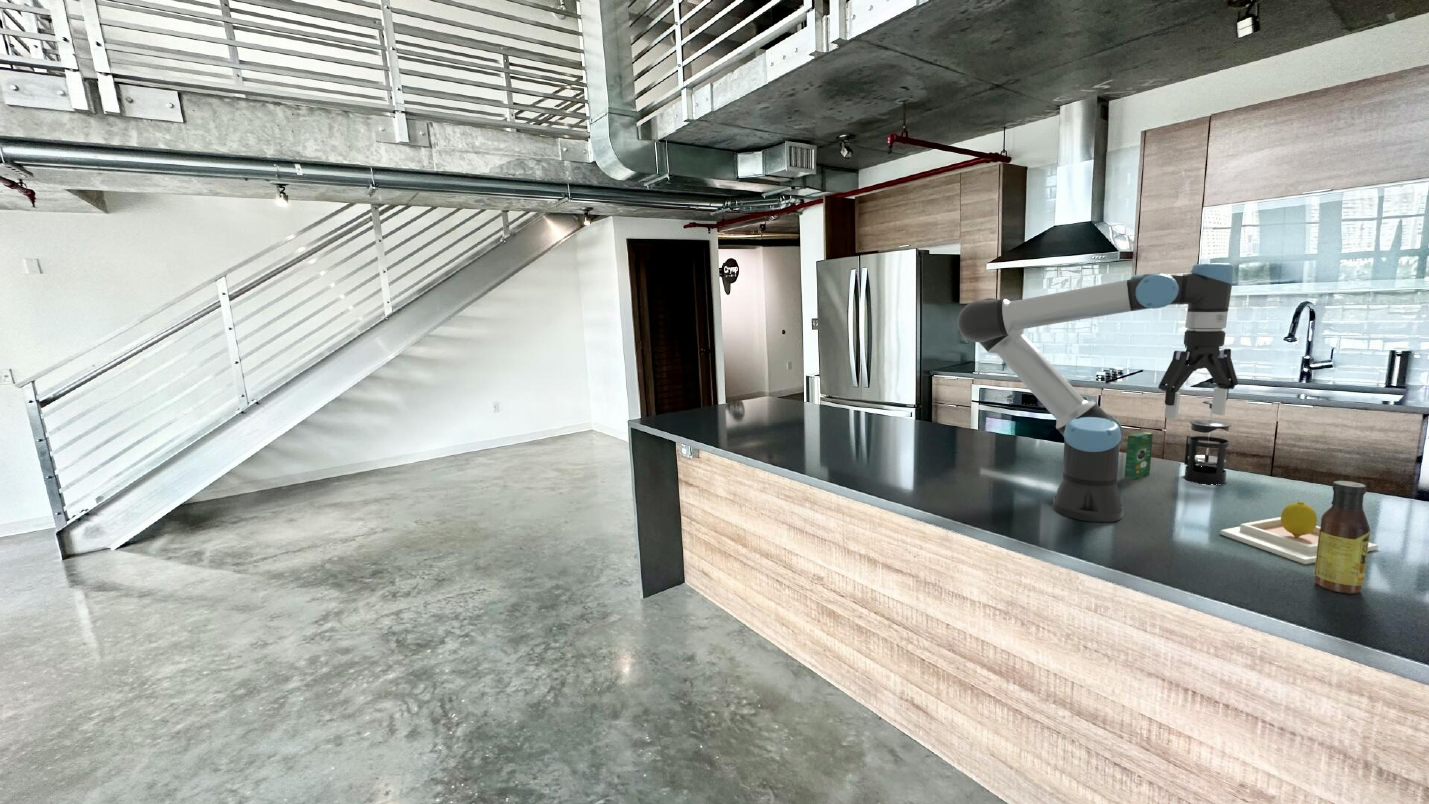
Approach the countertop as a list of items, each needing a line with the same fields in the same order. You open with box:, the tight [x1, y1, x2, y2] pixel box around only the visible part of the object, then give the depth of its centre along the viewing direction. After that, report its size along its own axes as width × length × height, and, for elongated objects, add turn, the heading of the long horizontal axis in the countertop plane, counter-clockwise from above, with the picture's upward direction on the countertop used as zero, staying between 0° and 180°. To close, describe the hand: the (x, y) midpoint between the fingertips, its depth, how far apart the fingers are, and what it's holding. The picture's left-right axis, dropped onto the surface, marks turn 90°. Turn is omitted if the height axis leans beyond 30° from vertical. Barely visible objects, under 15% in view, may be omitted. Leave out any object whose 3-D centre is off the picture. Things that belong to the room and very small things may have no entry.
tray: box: [1219, 516, 1379, 565], centre depth 126 cm, size 20×16×2 cm
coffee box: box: [1123, 431, 1154, 480], centre depth 172 cm, size 8×3×13 cm, turn 114°
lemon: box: [1280, 501, 1318, 537], centre depth 126 cm, size 6×6×8 cm
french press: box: [1183, 400, 1232, 486], centre depth 165 cm, size 12×9×23 cm
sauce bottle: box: [1314, 480, 1371, 595], centre depth 106 cm, size 6×6×20 cm
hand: (1194, 416), depth 143 cm, fingers open, 13 cm apart
